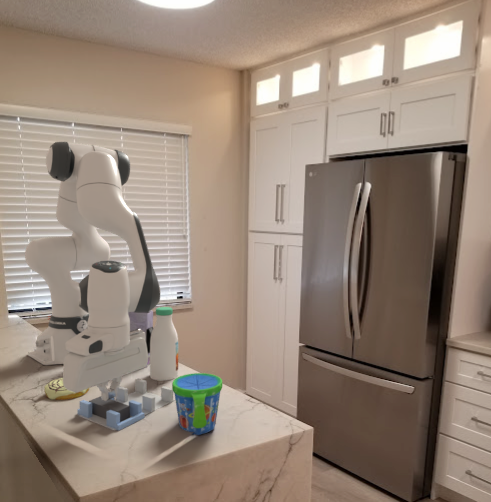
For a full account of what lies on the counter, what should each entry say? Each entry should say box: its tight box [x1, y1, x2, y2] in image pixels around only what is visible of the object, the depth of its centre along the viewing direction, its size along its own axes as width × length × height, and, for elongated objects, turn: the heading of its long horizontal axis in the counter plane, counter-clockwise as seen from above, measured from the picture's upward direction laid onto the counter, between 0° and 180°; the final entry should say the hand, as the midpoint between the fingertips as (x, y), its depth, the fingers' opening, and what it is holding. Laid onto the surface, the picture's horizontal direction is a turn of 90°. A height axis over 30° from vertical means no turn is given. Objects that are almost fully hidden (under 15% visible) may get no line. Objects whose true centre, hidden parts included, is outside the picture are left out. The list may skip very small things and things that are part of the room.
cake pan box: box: [128, 309, 154, 368], centre depth 128 cm, size 19×5×18 cm, turn 77°
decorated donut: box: [43, 377, 90, 401], centre depth 106 cm, size 10×11×4 cm
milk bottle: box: [149, 306, 179, 382], centre depth 118 cm, size 8×8×20 cm
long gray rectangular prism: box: [88, 395, 130, 422], centre depth 93 cm, size 10×3×3 cm, turn 57°
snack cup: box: [171, 372, 223, 436], centre depth 90 cm, size 16×10×10 cm
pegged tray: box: [77, 378, 176, 431], centre depth 97 cm, size 14×18×4 cm
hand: (109, 398), depth 93 cm, fingers closed
